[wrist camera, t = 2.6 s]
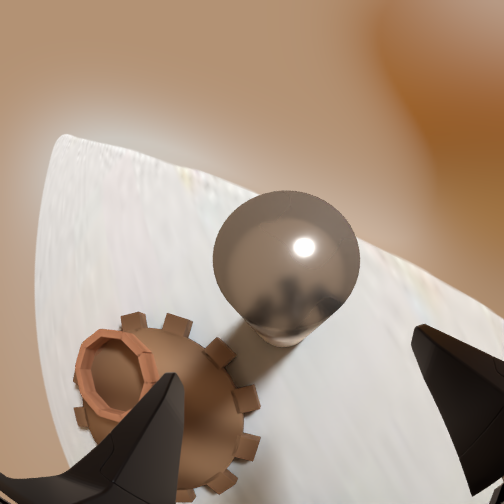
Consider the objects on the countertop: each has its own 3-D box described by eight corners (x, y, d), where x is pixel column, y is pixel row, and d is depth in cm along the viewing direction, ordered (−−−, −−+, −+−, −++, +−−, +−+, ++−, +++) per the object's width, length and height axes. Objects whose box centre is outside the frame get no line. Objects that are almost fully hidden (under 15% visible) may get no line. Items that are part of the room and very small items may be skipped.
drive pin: (313, 345, 19) (368, 323, 7) (254, 347, 19) (210, 329, 7) (311, 288, 21) (347, 189, 9) (253, 290, 21) (216, 194, 9)
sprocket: (260, 506, 14) (257, 522, 11) (88, 468, 15) (71, 474, 13) (260, 315, 20) (257, 309, 18) (84, 310, 22) (66, 303, 19)
